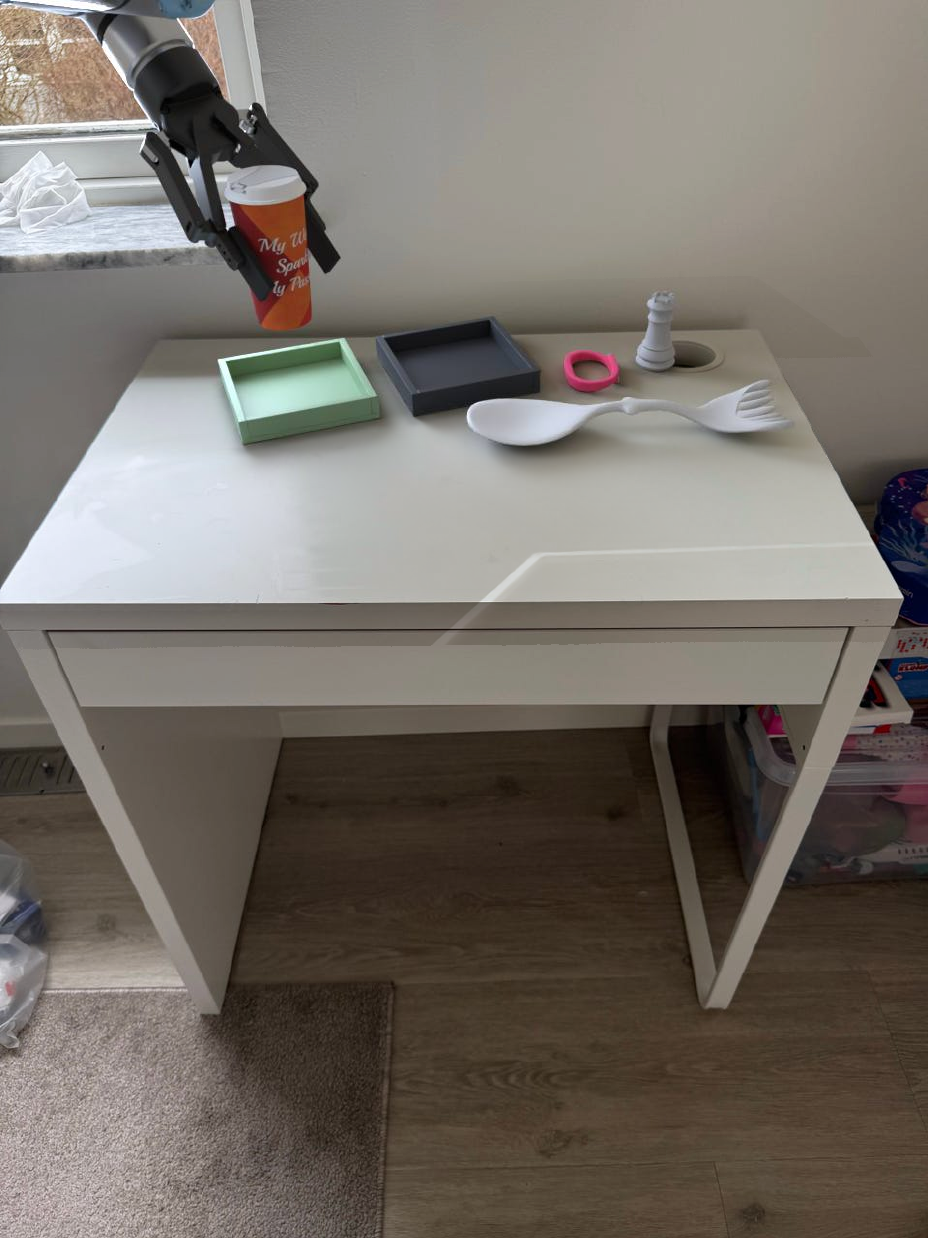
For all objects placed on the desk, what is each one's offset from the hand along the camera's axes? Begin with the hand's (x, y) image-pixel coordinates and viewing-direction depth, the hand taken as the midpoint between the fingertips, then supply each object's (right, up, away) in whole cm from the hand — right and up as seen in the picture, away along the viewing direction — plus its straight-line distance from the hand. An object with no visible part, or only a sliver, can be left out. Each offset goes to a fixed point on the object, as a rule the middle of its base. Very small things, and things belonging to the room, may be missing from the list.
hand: (300, 279), depth 93 cm
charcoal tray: (+15, -5, +15) cm, 22 cm away
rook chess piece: (+38, -4, +16) cm, 41 cm away
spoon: (+32, -14, +5) cm, 36 cm away
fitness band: (+30, -6, +14) cm, 34 cm away
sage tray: (-2, -9, +11) cm, 15 cm away
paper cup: (-2, -2, +5) cm, 6 cm away
